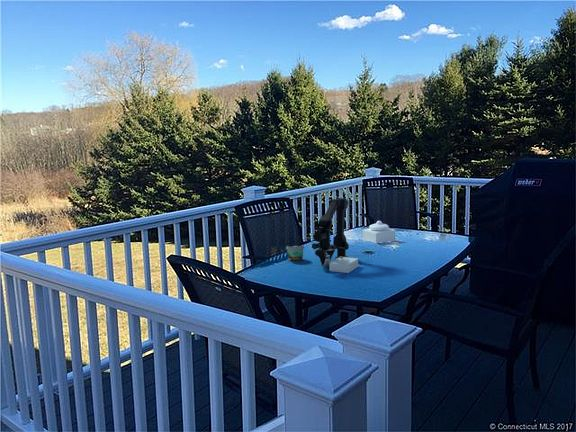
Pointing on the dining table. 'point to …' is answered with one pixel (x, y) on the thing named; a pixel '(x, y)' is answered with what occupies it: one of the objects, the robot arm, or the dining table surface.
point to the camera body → (343, 264)
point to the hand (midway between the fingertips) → (325, 263)
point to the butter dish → (379, 233)
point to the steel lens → (327, 261)
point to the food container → (295, 253)
